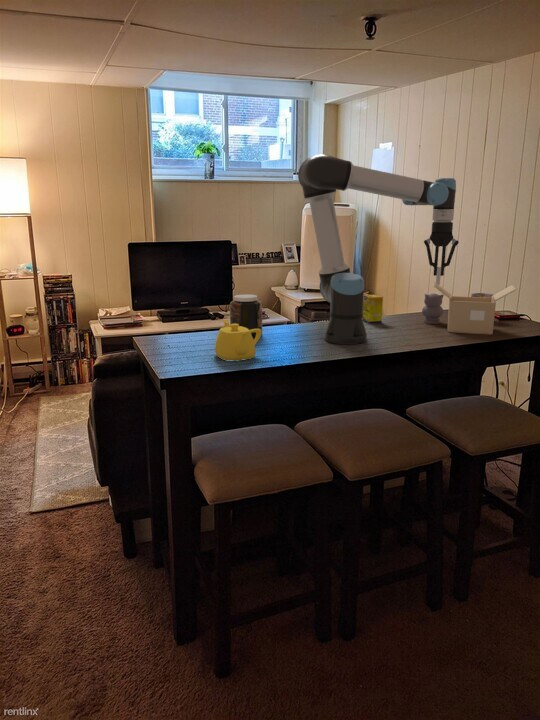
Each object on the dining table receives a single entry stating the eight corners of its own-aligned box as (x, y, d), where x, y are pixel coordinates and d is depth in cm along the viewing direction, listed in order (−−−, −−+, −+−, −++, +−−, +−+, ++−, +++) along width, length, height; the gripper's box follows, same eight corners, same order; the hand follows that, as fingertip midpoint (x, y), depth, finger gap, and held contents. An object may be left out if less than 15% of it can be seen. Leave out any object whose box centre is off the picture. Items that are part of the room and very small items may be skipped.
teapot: (274, 362, 173) (274, 328, 170) (226, 367, 167) (225, 333, 164) (250, 346, 192) (250, 315, 189) (207, 350, 187) (206, 319, 184)
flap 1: (452, 299, 208) (451, 300, 208) (451, 294, 218) (450, 295, 218) (434, 285, 208) (433, 286, 209) (434, 281, 218) (433, 282, 219)
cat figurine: (441, 320, 231) (443, 292, 228) (443, 324, 224) (446, 295, 221) (420, 320, 233) (422, 291, 229) (422, 324, 225) (424, 294, 222)
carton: (447, 332, 211) (450, 301, 208) (447, 325, 222) (449, 296, 219) (492, 334, 207) (495, 303, 203) (489, 327, 218) (492, 297, 215)
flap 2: (491, 296, 214) (491, 297, 214) (494, 300, 204) (494, 301, 204) (511, 284, 211) (512, 285, 211) (515, 288, 201) (516, 290, 201)
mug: (497, 320, 230) (499, 295, 228) (479, 322, 227) (481, 297, 224) (477, 315, 241) (479, 291, 238) (460, 317, 238) (462, 292, 235)
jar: (243, 340, 200) (242, 299, 195) (224, 335, 208) (223, 295, 204) (268, 335, 207) (268, 296, 203) (249, 330, 215) (248, 292, 211)
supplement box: (362, 320, 232) (363, 295, 229) (375, 319, 234) (376, 294, 231) (368, 323, 227) (370, 297, 224) (381, 322, 228) (383, 296, 225)
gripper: (424, 221, 205) (420, 285, 211) (461, 221, 201) (455, 286, 208) (424, 221, 212) (420, 282, 218) (460, 221, 208) (455, 283, 215)
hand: (437, 284), depth 213 cm, fingers closed
